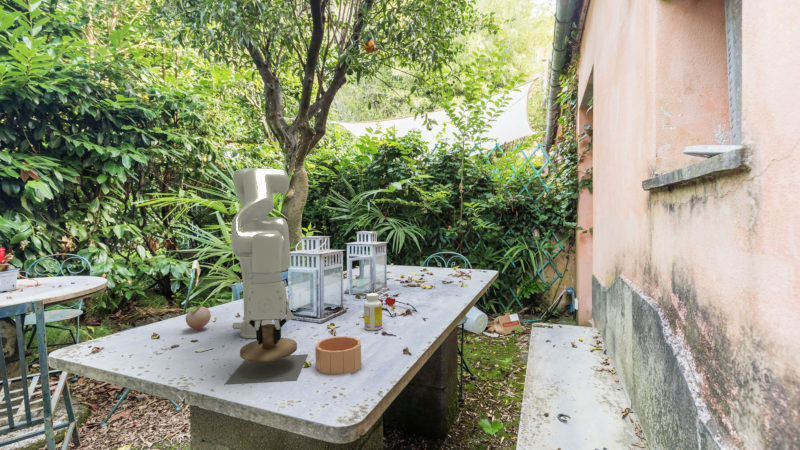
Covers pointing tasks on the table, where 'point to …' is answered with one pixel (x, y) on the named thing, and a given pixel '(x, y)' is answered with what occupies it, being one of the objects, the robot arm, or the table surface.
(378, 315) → the supplement bottle
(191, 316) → the decorative fruit
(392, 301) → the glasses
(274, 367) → the mat
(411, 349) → the table surface
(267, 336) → the lid
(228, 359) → the table surface
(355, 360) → the bowl
